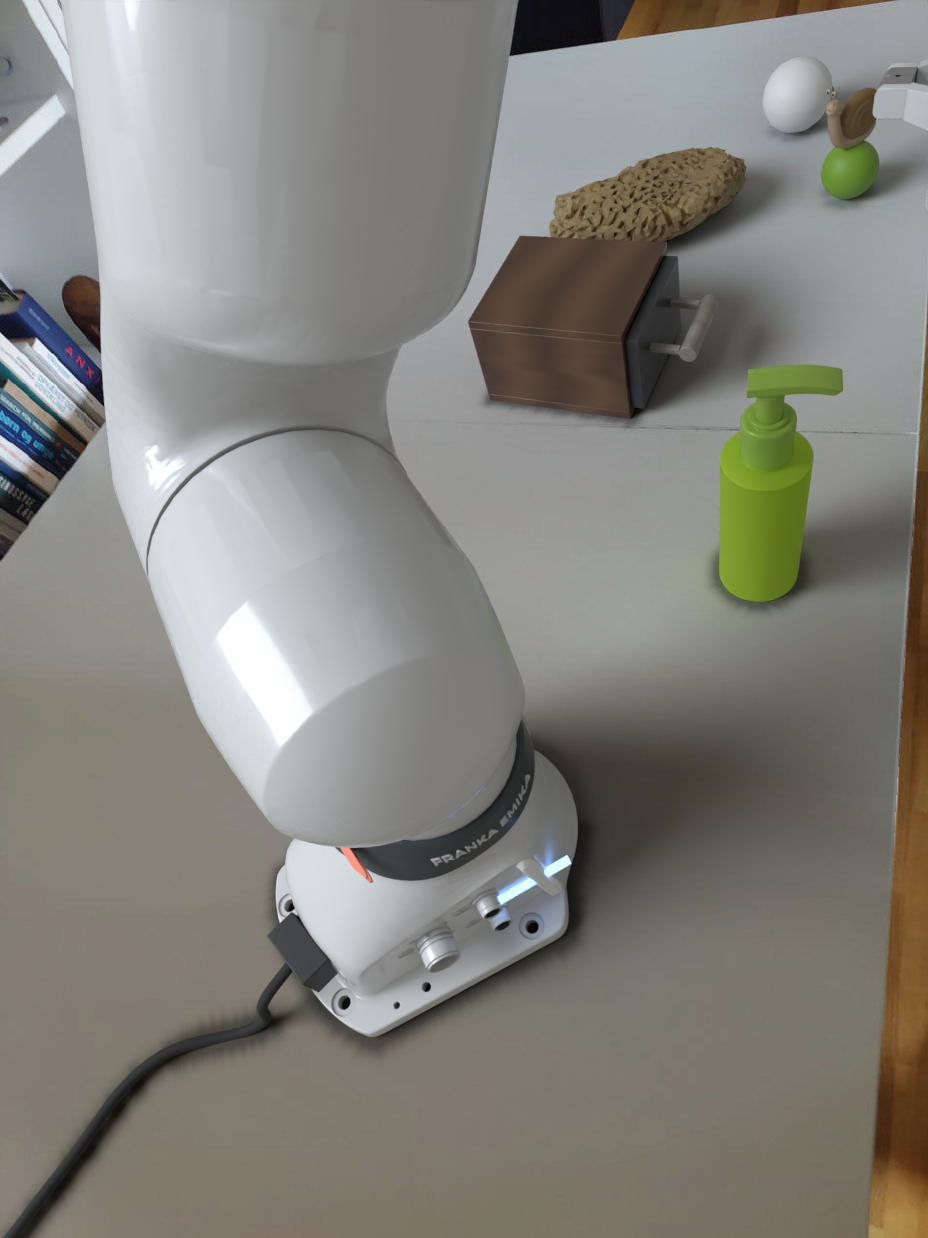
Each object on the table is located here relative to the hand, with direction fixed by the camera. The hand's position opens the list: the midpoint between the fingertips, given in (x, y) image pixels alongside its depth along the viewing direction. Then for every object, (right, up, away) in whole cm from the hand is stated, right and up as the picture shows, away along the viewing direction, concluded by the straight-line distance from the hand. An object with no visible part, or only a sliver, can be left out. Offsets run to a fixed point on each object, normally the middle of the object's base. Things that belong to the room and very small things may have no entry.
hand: (879, 90), depth 51 cm
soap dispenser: (-1, -28, +16) cm, 32 cm away
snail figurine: (+15, +12, +38) cm, 42 cm away
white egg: (+13, +25, +47) cm, 55 cm away
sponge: (-5, +11, +43) cm, 45 cm away
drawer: (-10, -7, +31) cm, 33 cm away
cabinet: (-14, -7, +33) cm, 37 cm away
